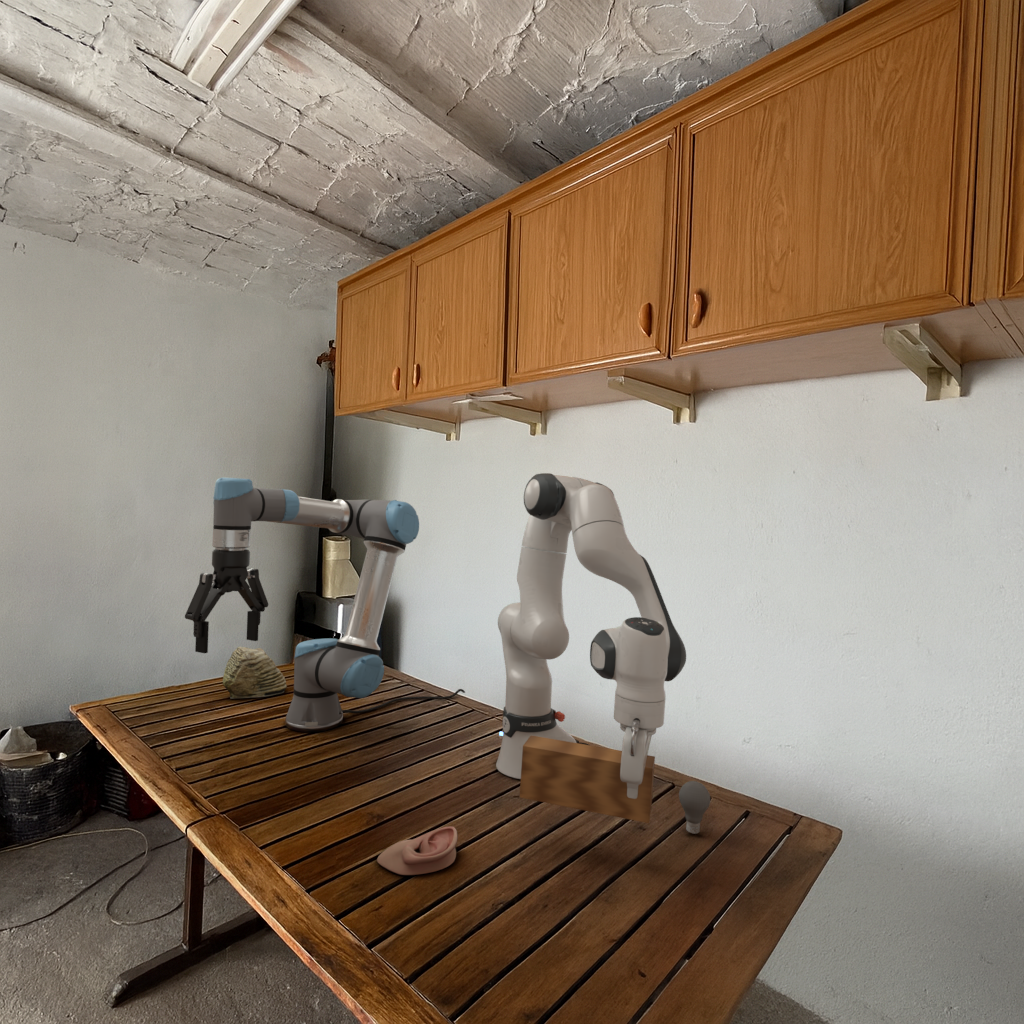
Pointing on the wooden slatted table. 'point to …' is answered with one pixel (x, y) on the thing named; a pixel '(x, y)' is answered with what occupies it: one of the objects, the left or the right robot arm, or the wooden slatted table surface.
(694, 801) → the light bulb
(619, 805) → the bar
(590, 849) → the wooden slatted table surface
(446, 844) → the anatomical model
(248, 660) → the fossil
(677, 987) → the wooden slatted table surface
